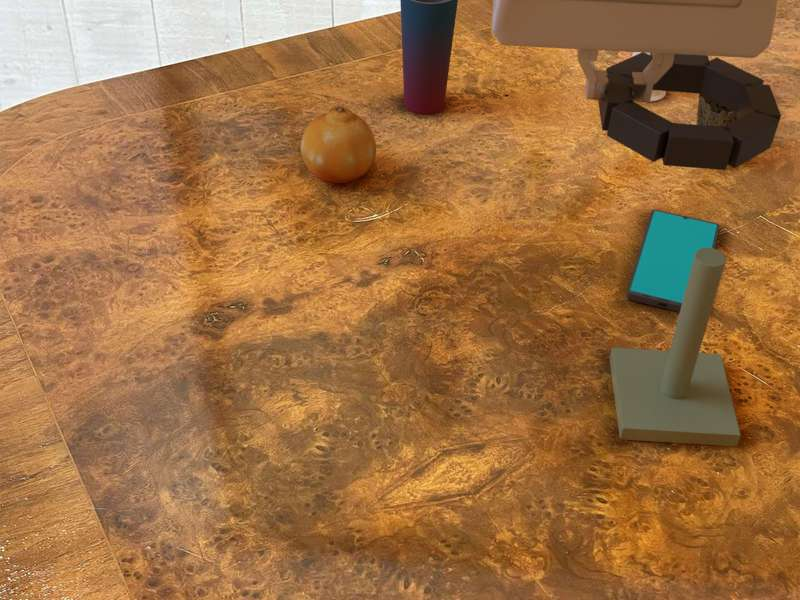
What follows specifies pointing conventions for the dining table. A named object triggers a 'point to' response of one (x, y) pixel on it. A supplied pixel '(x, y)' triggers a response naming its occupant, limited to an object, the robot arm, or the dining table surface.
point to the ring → (688, 140)
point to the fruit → (338, 146)
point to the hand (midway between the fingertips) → (616, 97)
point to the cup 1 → (426, 52)
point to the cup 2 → (714, 113)
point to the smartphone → (668, 258)
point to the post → (678, 375)
